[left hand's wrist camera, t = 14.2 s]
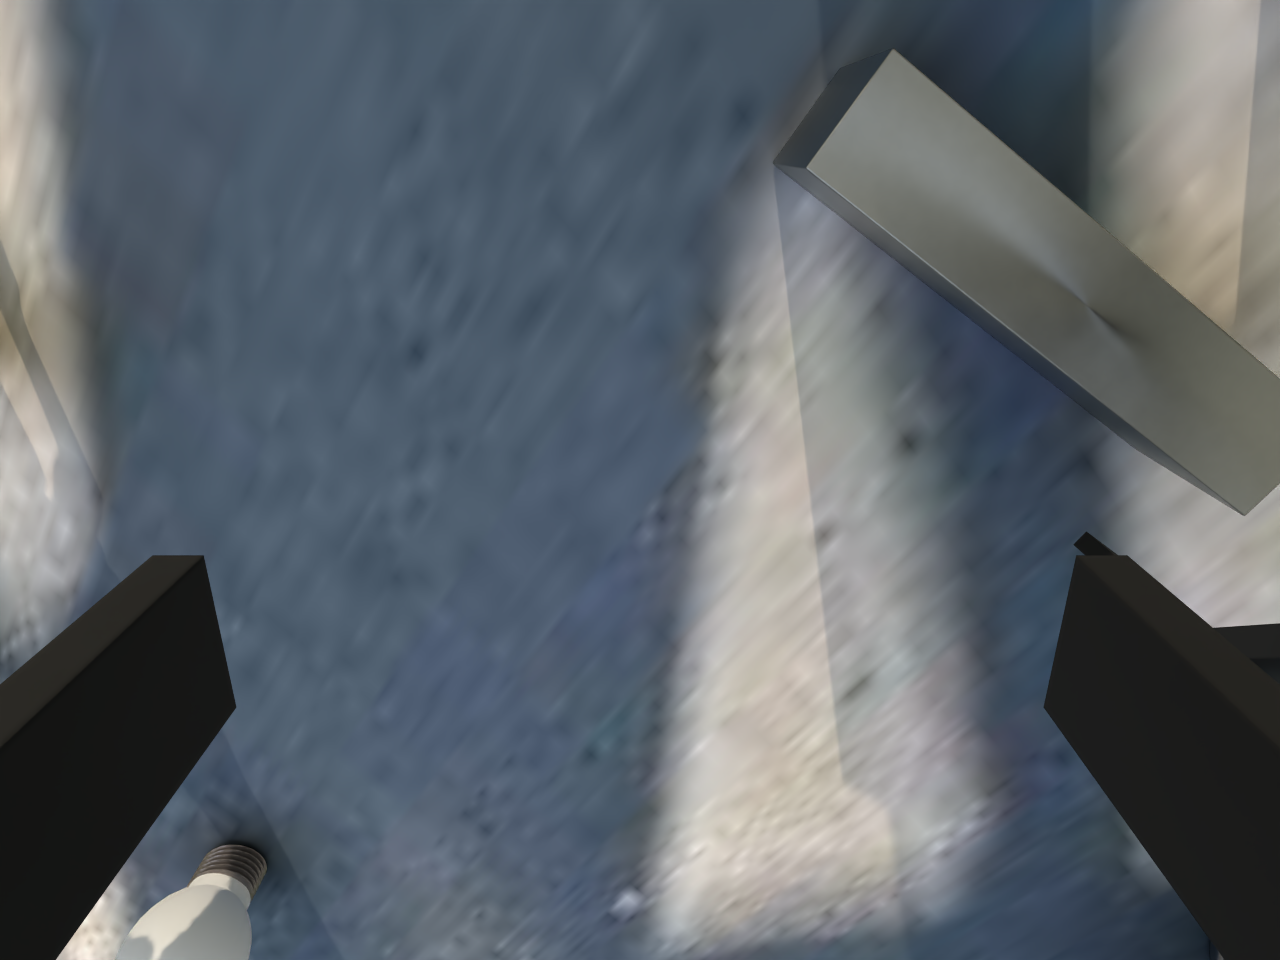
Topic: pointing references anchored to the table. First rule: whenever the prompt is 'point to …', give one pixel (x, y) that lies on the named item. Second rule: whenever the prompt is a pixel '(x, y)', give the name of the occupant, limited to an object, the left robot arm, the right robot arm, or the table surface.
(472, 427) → the table surface
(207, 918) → the light bulb
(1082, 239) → the bar
